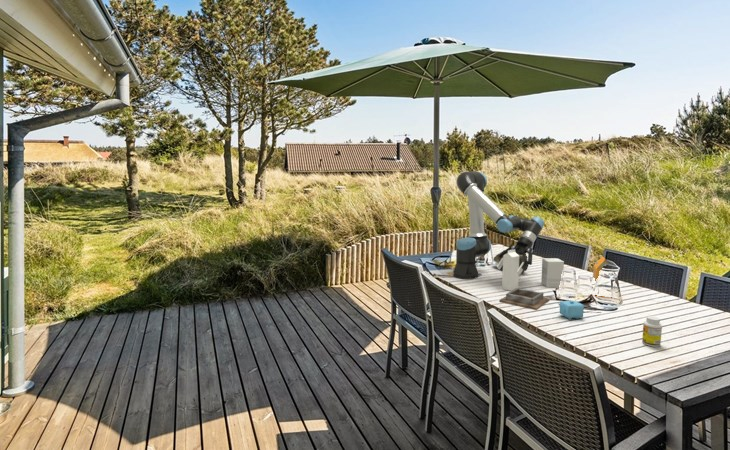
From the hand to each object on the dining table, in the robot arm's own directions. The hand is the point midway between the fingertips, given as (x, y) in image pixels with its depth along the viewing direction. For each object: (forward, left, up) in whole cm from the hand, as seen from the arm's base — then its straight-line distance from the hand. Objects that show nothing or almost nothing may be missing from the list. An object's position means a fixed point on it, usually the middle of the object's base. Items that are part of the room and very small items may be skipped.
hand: (507, 270), depth 216 cm
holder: (+15, -14, -11) cm, 23 cm away
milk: (+1, +2, -11) cm, 11 cm away
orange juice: (+41, +23, -11) cm, 48 cm away
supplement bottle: (+69, -33, -11) cm, 77 cm away
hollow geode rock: (-15, +43, -11) cm, 46 cm away
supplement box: (+16, +24, -11) cm, 31 cm away
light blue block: (+38, -23, -11) cm, 45 cm away
